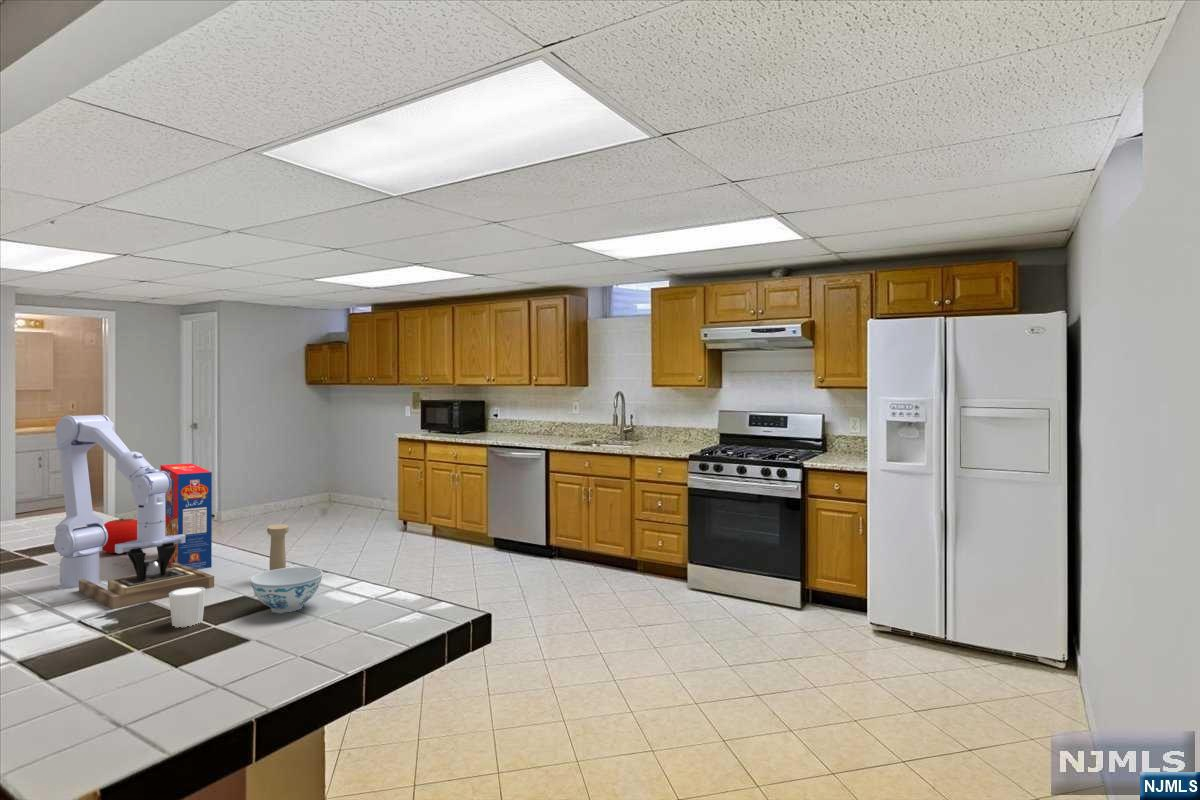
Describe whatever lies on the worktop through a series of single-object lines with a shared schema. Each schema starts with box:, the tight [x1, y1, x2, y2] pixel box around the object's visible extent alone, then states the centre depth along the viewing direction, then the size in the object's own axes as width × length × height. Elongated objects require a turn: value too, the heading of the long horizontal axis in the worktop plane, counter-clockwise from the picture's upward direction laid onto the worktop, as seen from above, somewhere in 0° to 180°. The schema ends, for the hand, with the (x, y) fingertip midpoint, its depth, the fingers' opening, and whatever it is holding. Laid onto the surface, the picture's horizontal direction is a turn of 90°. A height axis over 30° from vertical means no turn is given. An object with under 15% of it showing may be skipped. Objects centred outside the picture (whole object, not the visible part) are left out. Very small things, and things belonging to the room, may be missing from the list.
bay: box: [78, 562, 215, 610], centre depth 163 cm, size 22×21×4 cm
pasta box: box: [159, 463, 213, 570], centre depth 191 cm, size 28×8×28 cm, turn 42°
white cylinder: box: [168, 587, 207, 628], centre depth 143 cm, size 7×7×7 cm
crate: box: [107, 567, 196, 595], centre depth 161 cm, size 11×15×4 cm
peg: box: [141, 558, 161, 582], centre depth 161 cm, size 4×4×6 cm
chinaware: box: [250, 566, 323, 614], centre depth 153 cm, size 15×15×8 cm
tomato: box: [102, 518, 137, 554], centre depth 205 cm, size 14×13×10 cm
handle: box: [266, 523, 289, 571], centre depth 173 cm, size 5×6×15 cm
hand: (151, 577), depth 161 cm, fingers closed on peg, 4 cm apart
